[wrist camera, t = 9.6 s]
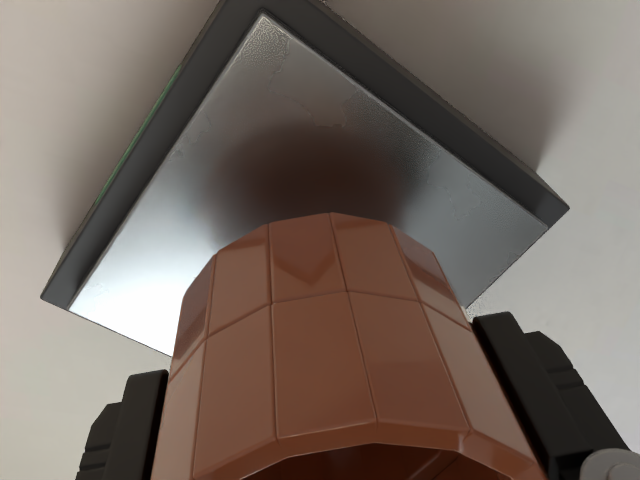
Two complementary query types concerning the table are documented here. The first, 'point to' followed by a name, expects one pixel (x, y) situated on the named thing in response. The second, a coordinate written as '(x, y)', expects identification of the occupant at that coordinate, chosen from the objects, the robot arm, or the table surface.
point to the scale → (342, 47)
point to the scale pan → (293, 184)
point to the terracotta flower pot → (333, 365)
